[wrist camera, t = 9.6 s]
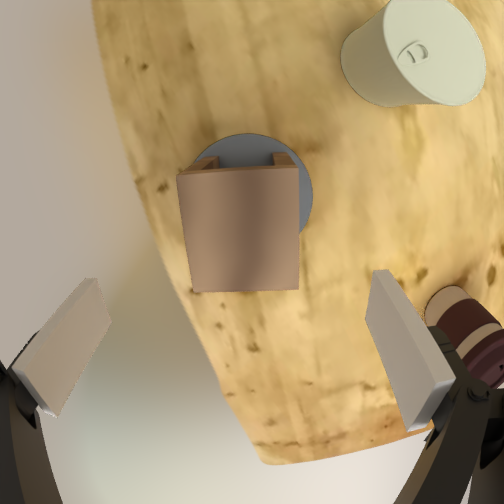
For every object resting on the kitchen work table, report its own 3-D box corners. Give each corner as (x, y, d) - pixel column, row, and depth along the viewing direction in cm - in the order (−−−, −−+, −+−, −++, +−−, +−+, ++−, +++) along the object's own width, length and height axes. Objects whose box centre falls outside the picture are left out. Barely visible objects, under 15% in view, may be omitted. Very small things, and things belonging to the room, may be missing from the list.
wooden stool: (213, 241, 32) (193, 292, 23) (204, 156, 28) (175, 175, 19) (289, 238, 31) (298, 289, 22) (286, 152, 27) (298, 168, 18)
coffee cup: (412, 339, 38) (450, 418, 24) (418, 285, 34) (474, 364, 20) (464, 322, 36) (508, 389, 23) (474, 269, 32) (536, 333, 19)
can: (322, 45, 23) (357, 4, 12) (390, 16, 20) (447, -21, 10) (371, 121, 26) (431, 127, 15) (433, 88, 23) (505, 85, 13)
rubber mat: (179, 140, 28) (178, 140, 27) (310, 131, 27) (311, 131, 26) (194, 256, 33) (193, 259, 33) (311, 252, 32) (311, 254, 32)
